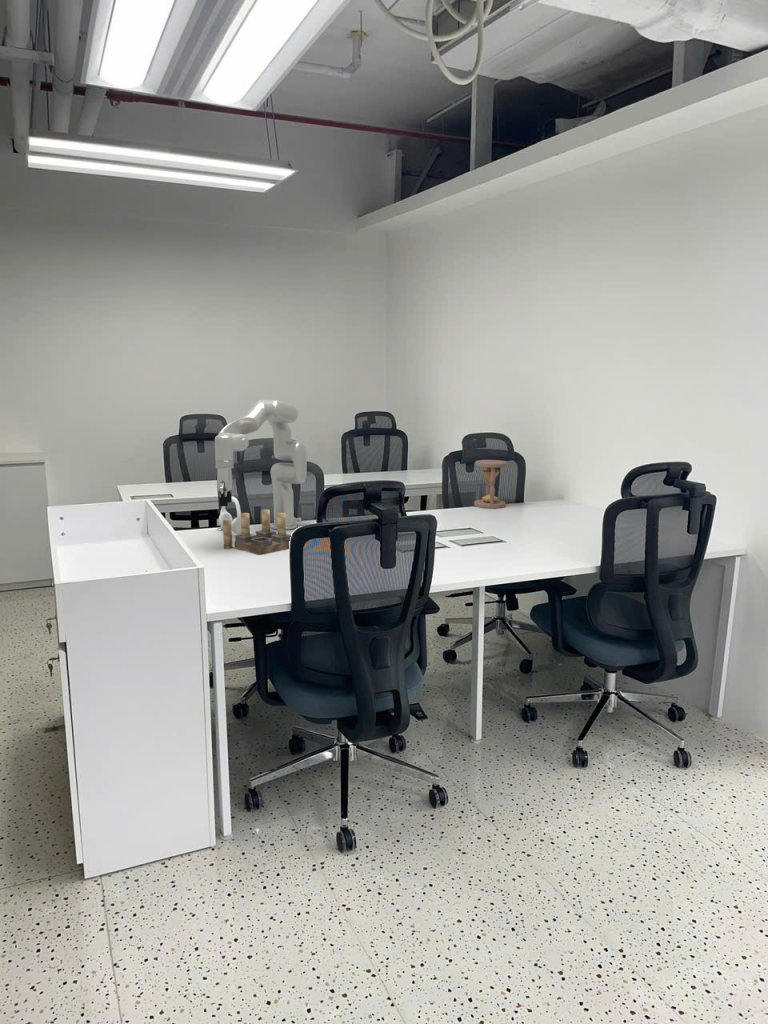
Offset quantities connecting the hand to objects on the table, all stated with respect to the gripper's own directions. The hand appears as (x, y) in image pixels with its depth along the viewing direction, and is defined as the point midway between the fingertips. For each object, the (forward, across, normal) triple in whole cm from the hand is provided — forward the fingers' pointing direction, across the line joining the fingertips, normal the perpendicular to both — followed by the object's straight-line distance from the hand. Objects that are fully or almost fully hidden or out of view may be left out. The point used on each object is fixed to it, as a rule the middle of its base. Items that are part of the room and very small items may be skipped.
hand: (225, 504), depth 322 cm
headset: (+19, -30, -3) cm, 35 cm away
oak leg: (+19, -1, 0) cm, 19 cm away
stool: (+19, -1, +16) cm, 25 cm away
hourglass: (+17, -98, +130) cm, 163 cm away
